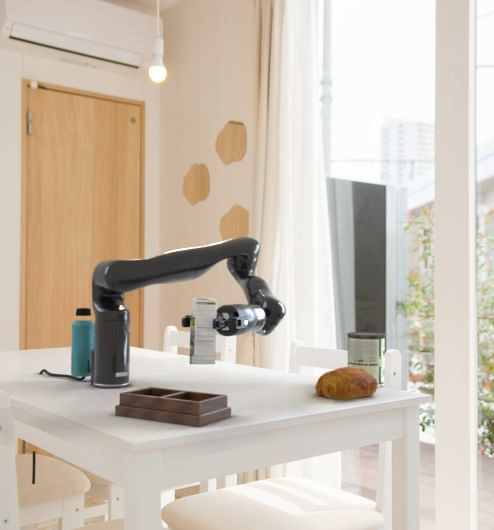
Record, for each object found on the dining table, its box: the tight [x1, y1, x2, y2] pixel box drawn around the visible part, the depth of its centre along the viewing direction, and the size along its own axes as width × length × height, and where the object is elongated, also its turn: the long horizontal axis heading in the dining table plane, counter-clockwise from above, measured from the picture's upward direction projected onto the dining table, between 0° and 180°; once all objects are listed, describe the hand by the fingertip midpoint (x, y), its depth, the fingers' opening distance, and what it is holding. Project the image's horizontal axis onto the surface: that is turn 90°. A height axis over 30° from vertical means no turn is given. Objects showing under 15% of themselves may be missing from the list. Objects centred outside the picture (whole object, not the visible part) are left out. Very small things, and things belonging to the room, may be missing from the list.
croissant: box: [315, 366, 378, 401], centre depth 173 cm, size 14×16×8 cm
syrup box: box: [189, 297, 218, 365], centre depth 156 cm, size 6×6×14 cm
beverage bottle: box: [70, 307, 95, 378], centre depth 192 cm, size 6×7×20 cm
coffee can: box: [346, 331, 386, 388], centre depth 192 cm, size 10×10×14 cm
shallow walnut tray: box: [114, 386, 232, 428], centre depth 145 cm, size 21×12×4 cm, turn 61°
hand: (198, 323), depth 154 cm, fingers closed on syrup box, 7 cm apart
